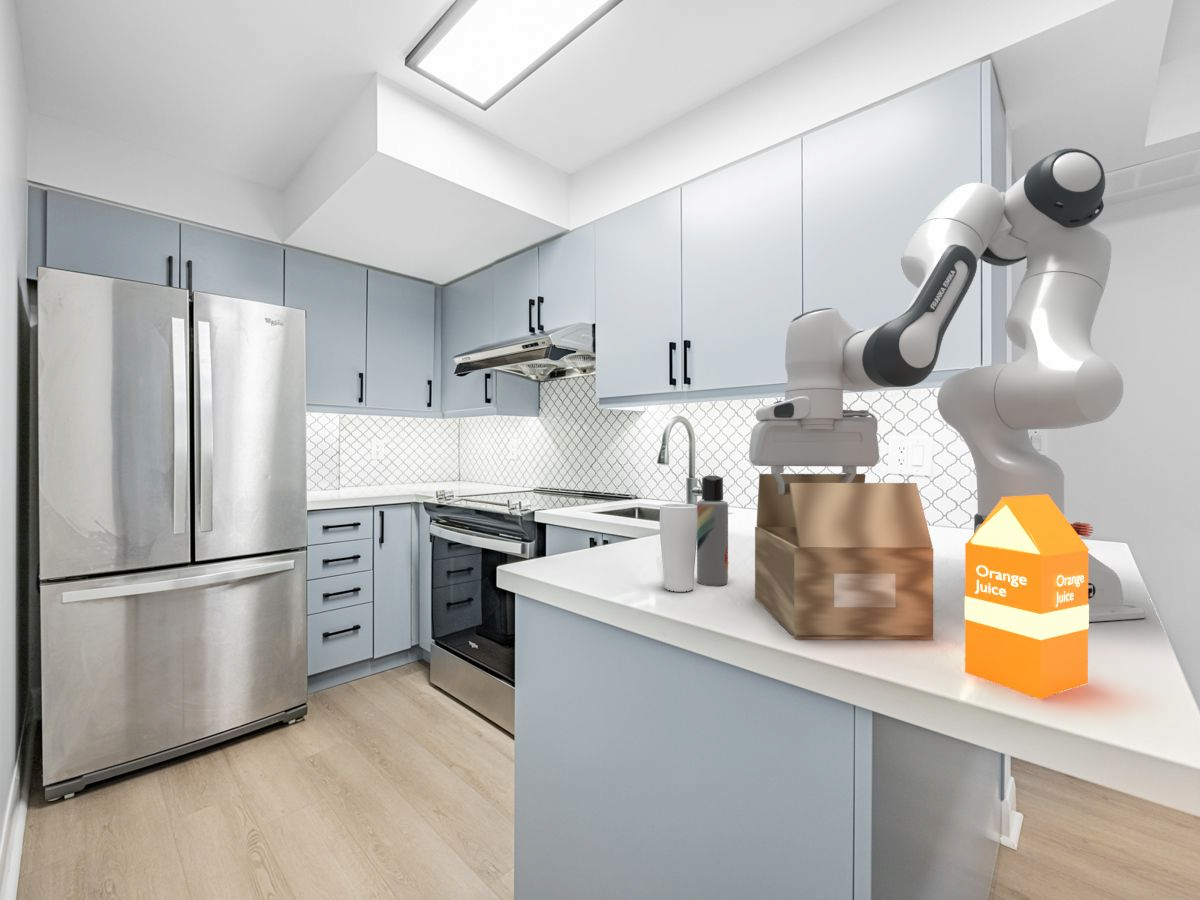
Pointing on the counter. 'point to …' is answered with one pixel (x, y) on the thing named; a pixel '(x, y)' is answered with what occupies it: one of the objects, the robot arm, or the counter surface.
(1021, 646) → the orange juice
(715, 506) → the lotion bottle
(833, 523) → the near flap
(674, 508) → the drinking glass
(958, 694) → the counter surface
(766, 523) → the far flap
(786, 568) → the carton
